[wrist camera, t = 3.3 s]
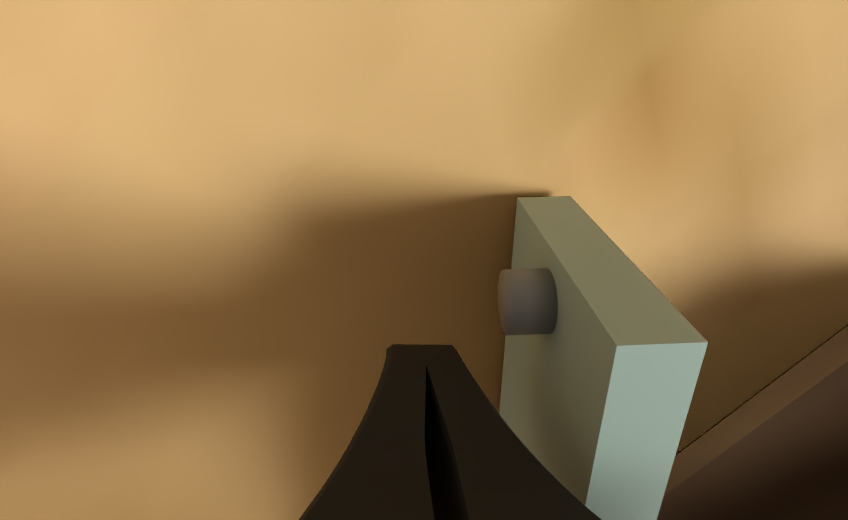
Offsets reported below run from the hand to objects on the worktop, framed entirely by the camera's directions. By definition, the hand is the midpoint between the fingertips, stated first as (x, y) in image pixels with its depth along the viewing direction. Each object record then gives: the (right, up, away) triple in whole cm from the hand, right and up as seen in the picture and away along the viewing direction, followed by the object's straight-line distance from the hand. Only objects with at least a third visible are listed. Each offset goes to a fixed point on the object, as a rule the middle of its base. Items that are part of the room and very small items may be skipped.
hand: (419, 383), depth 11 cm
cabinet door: (+2, -2, +4) cm, 5 cm away
